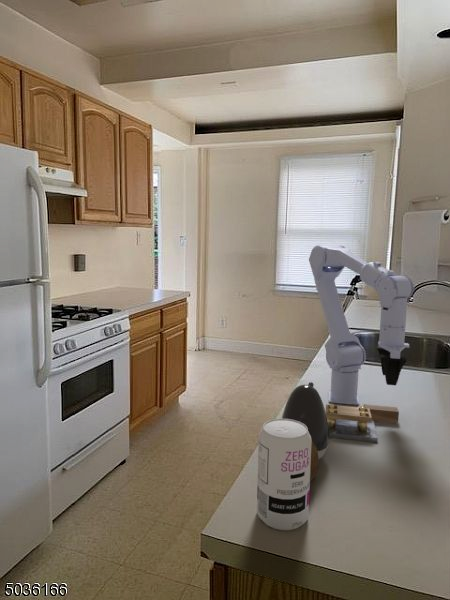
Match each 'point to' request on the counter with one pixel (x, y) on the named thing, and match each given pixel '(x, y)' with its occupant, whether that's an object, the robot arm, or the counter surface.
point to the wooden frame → (348, 413)
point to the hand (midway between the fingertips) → (389, 379)
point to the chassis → (352, 428)
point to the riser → (383, 413)
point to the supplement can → (283, 474)
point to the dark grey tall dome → (309, 414)
